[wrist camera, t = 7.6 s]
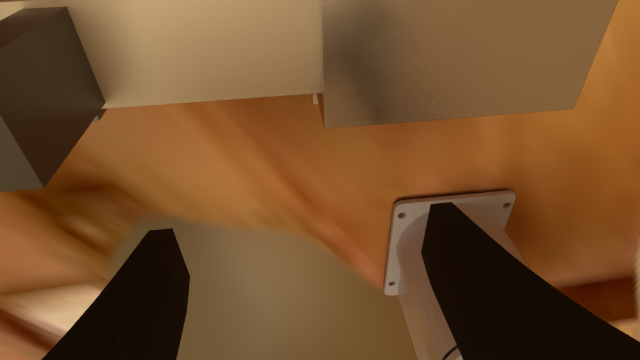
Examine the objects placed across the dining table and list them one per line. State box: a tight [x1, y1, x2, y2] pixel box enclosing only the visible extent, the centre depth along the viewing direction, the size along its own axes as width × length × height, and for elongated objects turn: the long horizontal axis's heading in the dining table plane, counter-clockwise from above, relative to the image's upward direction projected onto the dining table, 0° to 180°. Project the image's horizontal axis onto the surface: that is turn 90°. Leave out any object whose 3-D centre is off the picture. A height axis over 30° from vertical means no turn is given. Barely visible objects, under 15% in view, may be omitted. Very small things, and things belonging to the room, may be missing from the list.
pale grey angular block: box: [0, 0, 322, 192], centre depth 12 cm, size 14×4×8 cm, turn 91°
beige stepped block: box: [311, 0, 618, 129], centre depth 15 cm, size 9×8×7 cm
